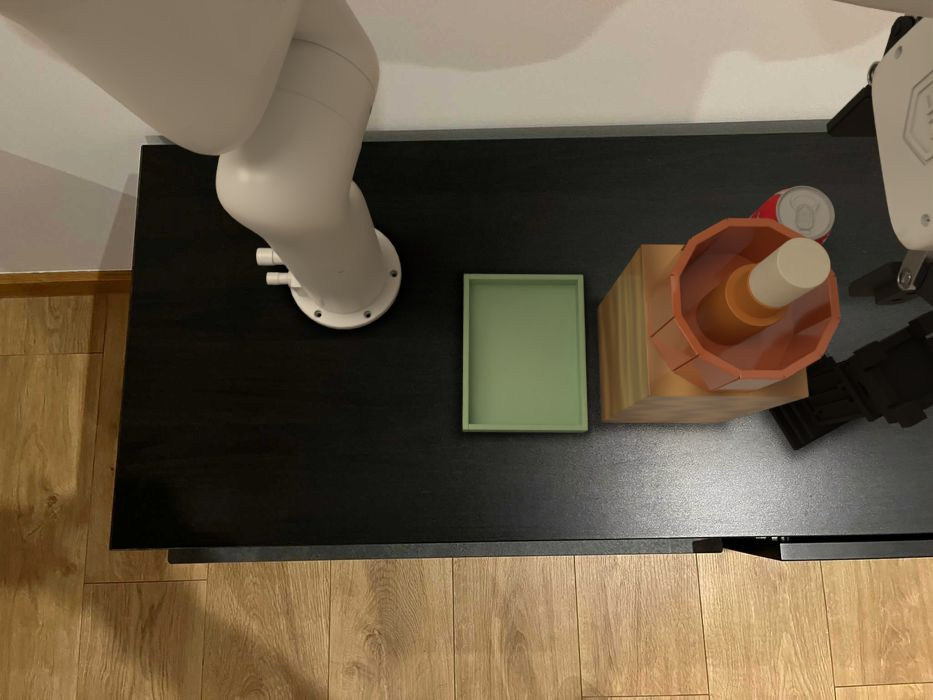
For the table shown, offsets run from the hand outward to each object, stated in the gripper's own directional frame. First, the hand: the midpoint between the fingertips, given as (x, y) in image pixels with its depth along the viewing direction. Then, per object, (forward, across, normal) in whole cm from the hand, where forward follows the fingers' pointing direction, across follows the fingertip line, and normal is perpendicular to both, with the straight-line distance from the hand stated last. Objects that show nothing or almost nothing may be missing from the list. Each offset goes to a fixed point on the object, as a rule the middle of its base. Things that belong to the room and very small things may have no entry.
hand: (862, 209), depth 39 cm
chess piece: (+39, +6, +16) cm, 42 cm away
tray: (+39, 0, -15) cm, 42 cm away
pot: (+19, +2, -1) cm, 19 cm away
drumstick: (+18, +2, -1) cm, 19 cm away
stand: (+39, +2, 0) cm, 39 cm away
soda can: (+39, -11, +12) cm, 42 cm away
